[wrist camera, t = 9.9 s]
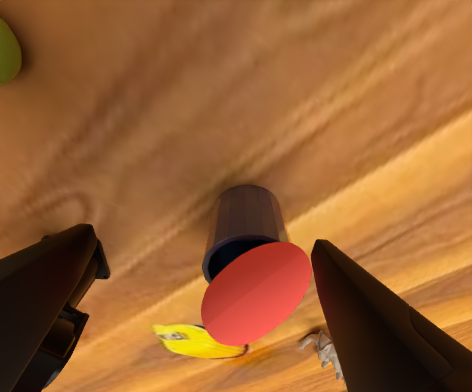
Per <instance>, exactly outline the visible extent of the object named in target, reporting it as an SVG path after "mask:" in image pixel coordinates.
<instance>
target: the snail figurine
mask: <svg viewBox="0 0 472 392" xmlns="http://www.w3.org/2000/svg"><path fill="white" fill-rule="evenodd" d="M21 63H22V54H21V49H20V46H19V43H18V41H17V39H16V37H15V35H14V33H13V32H12V30H11V29H10V28H9V26H8V25H7V24H6V23H5V21H4V20H3V19H2V18H1V17H0V86H1V85H4V84H6V83H8V82H10V81H11V80H12V79H14V78H15V76H16V75H17V74H18V72H19V70H20V68H21Z"/></svg>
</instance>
